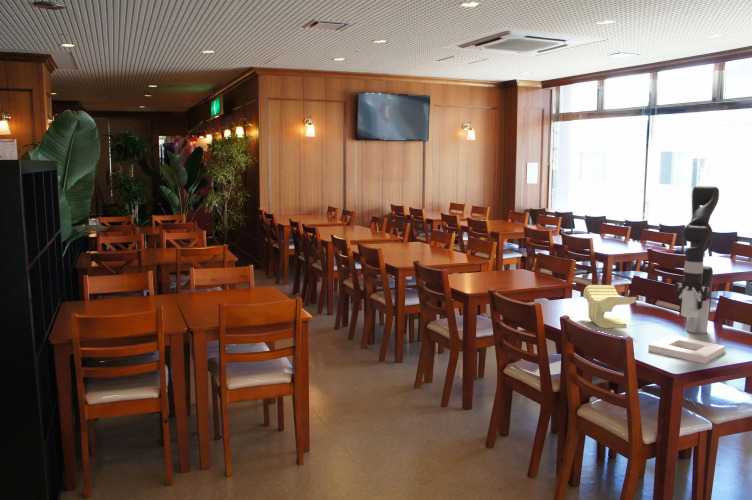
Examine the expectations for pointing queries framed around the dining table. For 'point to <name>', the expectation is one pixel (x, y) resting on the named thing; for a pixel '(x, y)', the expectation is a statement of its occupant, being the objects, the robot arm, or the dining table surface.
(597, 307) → the slatted curved stool
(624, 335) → the dining table surface
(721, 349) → the white square frame
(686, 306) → the skincare box
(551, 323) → the dining table surface
